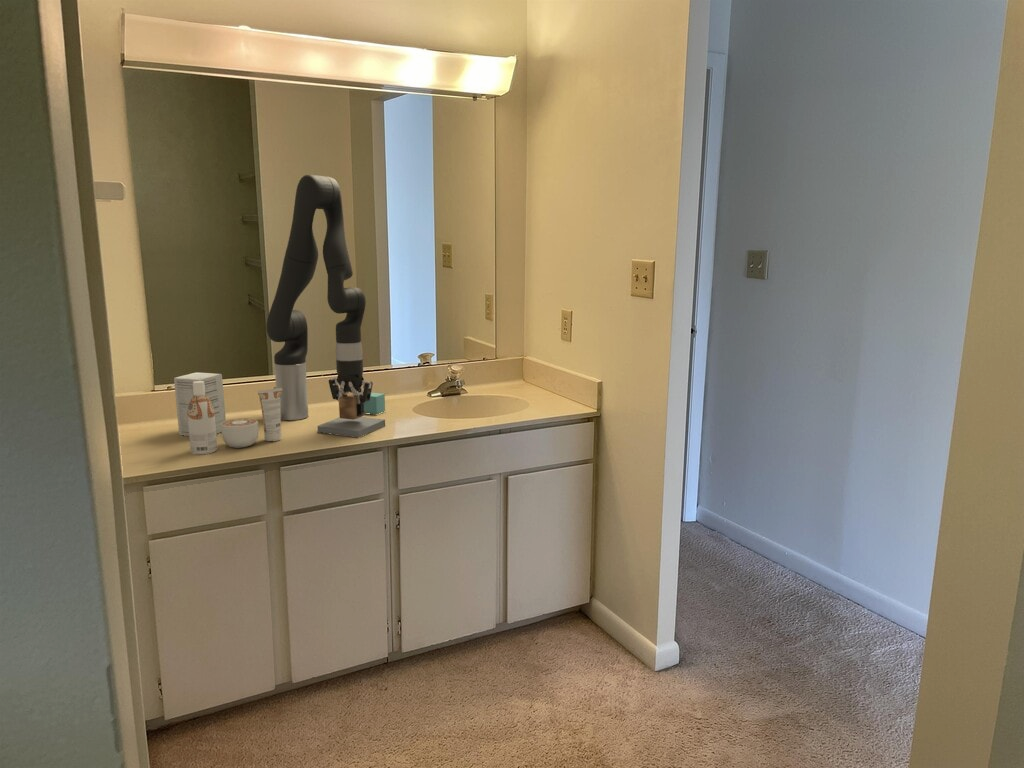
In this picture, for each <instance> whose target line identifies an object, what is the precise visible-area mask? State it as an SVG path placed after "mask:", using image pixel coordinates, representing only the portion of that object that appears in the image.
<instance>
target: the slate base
mask: <svg viewBox="0 0 1024 768" xmlns="http://www.w3.org/2000/svg"><path fill="white" fill-rule="evenodd" d="M383 426H384V427H386V419H383V418H373V417H367V416H365V417H364V416H362V417H360V418H357V419H355V420H352V419H343V418H340V416H339V417H337V418H334V419H332V420H329V421H327V422H324V423H322V424H319V425H317V427H316V428H317V433H318V432H323V433H322V434H325V433H331V434H330V435H333V434H338V435H337V436H341V435H345V436H344V437H349V436H353V437H352V438H357V437H360V438H361V436H362V437H364V436H366V435H368V434H367V433H369V432H371V433H372V431H373V432H375V431H377V430H380V429H382V428H384V427H383ZM381 427H382V428H381ZM379 428H380V429H379ZM376 429H377V430H376ZM374 430H375V431H374ZM365 434H366V435H365ZM369 434H370V433H369ZM363 435H364V436H363Z"/></svg>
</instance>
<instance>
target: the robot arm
mask: <svg viewBox="0 0 1024 768" xmlns="http://www.w3.org/2000/svg"><path fill="white" fill-rule="evenodd" d="M296 186H297V187H296V191H295V199H294V206H293V214H292V221H291V226H290V227H291V228H290V232H289V236H288V241H287V246H286V249H285V253H284V257H283V262H282V268H281V273H280V277H279V280H278V285H277V288H276V292H275V294H274V298H273V302H272V304H271V307H270V309H269V313H268V314H267V315H268V316H267V320H266V326H265V327H266V328H265V329H266V333H267V336H268V338H269V340H271V341H272V342H275V343H284V344H283V346H282V348H281V349H280V350H278V351H277V352H276V353H275V354H274V357H273V358H274V359H273V361H274V362H273V363H274V375H275V378H274V379H275V386H274V387H273V388H272V389H277V388H282V393H281V420H282V421H296V420H302V419H306V418H308V417H309V401H308V381H307V363H306V362H307V361H306V358H307V354H308V351H309V350H308V347H309V345H308V340H309V339H308V338H309V336H308V335H309V332H308V330H309V329H308V322H307V318H306V316H305V315H304V313H302V311H300V310H298V309H294V306H295V304H296V302H297V300H298V298H299V297H300V296H301V294H302V293H303V292H304V291H305V290H306V288H307V287H308V285H309V284H310V283H311V281H312V279H313V278H314V275H315V272H316V269H317V268H316V267H317V264H318V261H319V248H318V245H317V241H316V239H315V238H316V237H315V235H314V231H313V230H314V229H313V225H314V224H313V223H314V219H315V217H314V216H315V215H316V210H323V213H324V216H325V219H326V232H325V237H324V240H323V244H322V257H323V262H324V265H325V269H326V274H327V293H326V294H327V299H326V300H327V303H328V306H329V308H330V309H331V311H333V313H334V314H346V315H345V318H344V319H343V320H340V321H338V322H337V323H336V324H335V366H336V374H337V377H334V378H331V379H329V380H328V384H329V389H330V392H331V397H332V400H336V401H337V402H338V403H339V398H340V397H343V396H347V395H349V393H351V394H352V395H353V396H354V397H355V398H356V402H357V404H356V405H357V416H362V415H363V414H364V402H366V401H369V400H370V396H371V392H372V391H373V390H372V389H373V384H374V383H373V381H368V380H367V381H366V380H365V379H364V376H363V374H364V359H363V356H364V355H363V354H364V353H363V345H362V331H361V330H362V329H361V327H362V325H363V319H364V315H365V310H366V303H367V301H366V295H365V293H364V292H363V290H362V289H361V288H359V287H355V286H354V287H344V283H345V281H347V280H349V279H351V278H352V277H353V267H352V264H351V260H350V256H349V251H348V246H347V242H346V241H347V240H346V233H345V222H344V220H345V219H344V210H343V200H342V199H343V198H342V193H341V188H340V185H339V183H338V182H337V180H336V179H335V178H333V177H331V176H326V175H316V174H305V175H303V176H302V177H301V178H300V180H299V181H298V183H297V185H296ZM339 386H340V387H339ZM364 415H365V414H364ZM362 417H363V416H362Z"/></svg>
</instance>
